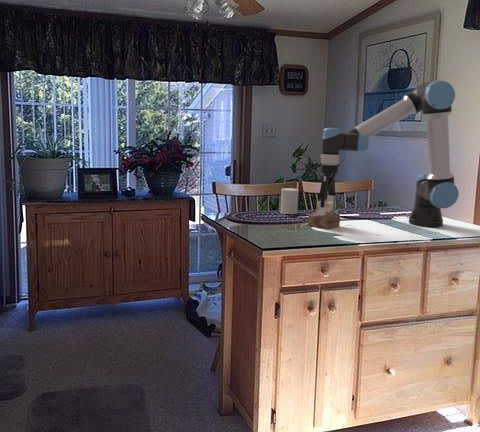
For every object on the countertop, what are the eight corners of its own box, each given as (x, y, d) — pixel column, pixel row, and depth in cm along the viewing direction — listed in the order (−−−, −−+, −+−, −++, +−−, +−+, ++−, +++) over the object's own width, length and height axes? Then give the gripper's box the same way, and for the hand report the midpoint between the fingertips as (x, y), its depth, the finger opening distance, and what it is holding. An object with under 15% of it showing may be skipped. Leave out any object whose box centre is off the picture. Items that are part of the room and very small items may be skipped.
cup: (277, 212, 266) (279, 188, 263) (293, 211, 268) (294, 188, 266) (284, 215, 258) (285, 190, 256) (299, 215, 260) (301, 190, 258)
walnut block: (339, 227, 238) (340, 216, 237) (327, 230, 230) (328, 218, 229) (320, 223, 244) (321, 212, 243) (307, 226, 237) (308, 215, 236)
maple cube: (332, 215, 238) (333, 201, 237) (329, 217, 233) (330, 203, 231) (319, 213, 240) (320, 200, 239) (315, 215, 235) (316, 202, 234)
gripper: (328, 161, 244) (324, 207, 249) (313, 165, 222) (310, 215, 226) (344, 162, 242) (340, 208, 246) (331, 166, 219) (327, 217, 223)
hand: (326, 212), depth 236 cm, fingers open, 13 cm apart
